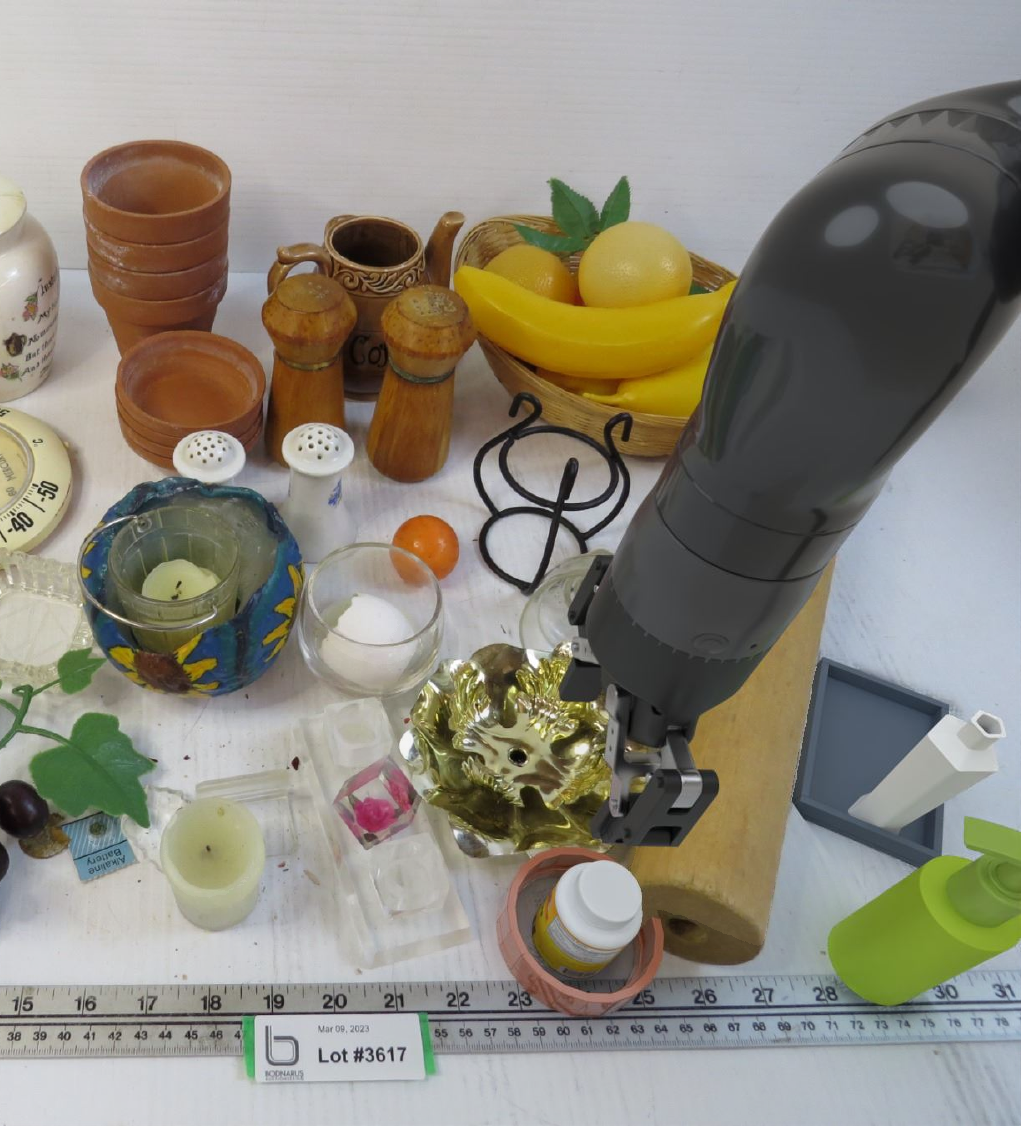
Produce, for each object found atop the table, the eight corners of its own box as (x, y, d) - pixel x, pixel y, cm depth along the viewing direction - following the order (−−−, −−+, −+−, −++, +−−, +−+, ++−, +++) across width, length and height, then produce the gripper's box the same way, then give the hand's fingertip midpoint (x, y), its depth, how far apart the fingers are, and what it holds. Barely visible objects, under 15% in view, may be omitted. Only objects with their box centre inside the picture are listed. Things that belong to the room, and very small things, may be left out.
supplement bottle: (566, 889, 70) (610, 831, 63) (622, 954, 68) (675, 903, 60) (510, 930, 68) (548, 876, 61) (565, 1000, 66) (612, 952, 58)
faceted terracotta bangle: (667, 996, 66) (694, 975, 62) (533, 1043, 64) (552, 1024, 60) (592, 857, 73) (613, 829, 69) (468, 895, 70) (482, 869, 66)
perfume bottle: (833, 827, 75) (946, 732, 63) (847, 785, 77) (958, 686, 65) (894, 860, 73) (1021, 769, 62) (907, 817, 75) (1031, 721, 64)
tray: (925, 871, 73) (941, 860, 71) (787, 812, 76) (800, 800, 74) (935, 717, 82) (949, 704, 80) (811, 669, 84) (823, 656, 83)
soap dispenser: (807, 905, 71) (970, 782, 55) (906, 948, 69) (1103, 834, 54) (797, 979, 67) (969, 871, 52) (901, 1027, 66) (1111, 929, 50)
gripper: (848, 730, 37) (691, 886, 50) (735, 469, 46) (626, 657, 59) (657, 726, 37) (548, 884, 49) (581, 465, 46) (505, 655, 58)
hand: (591, 761), depth 54 cm, fingers open, 8 cm apart
